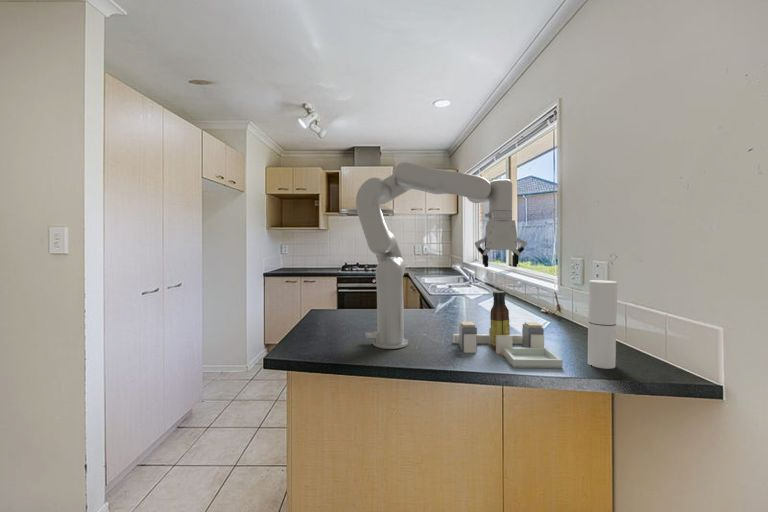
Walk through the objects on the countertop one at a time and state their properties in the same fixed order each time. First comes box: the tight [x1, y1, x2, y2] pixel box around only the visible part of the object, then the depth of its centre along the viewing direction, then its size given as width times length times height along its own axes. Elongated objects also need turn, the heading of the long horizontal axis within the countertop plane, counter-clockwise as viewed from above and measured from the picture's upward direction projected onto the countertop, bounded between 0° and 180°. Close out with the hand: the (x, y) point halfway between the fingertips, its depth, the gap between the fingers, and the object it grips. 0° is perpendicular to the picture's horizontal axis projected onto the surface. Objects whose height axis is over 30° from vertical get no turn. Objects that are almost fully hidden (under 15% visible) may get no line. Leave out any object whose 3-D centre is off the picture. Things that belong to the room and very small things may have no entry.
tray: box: [502, 347, 563, 370], centre depth 112 cm, size 14×12×2 cm
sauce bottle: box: [489, 290, 511, 351], centre depth 125 cm, size 7×6×20 cm
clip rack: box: [452, 321, 545, 357], centre depth 125 cm, size 30×15×9 cm, turn 87°
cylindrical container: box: [587, 279, 618, 370], centre depth 108 cm, size 7×7×25 cm
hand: (500, 266), depth 125 cm, fingers open, 9 cm apart
